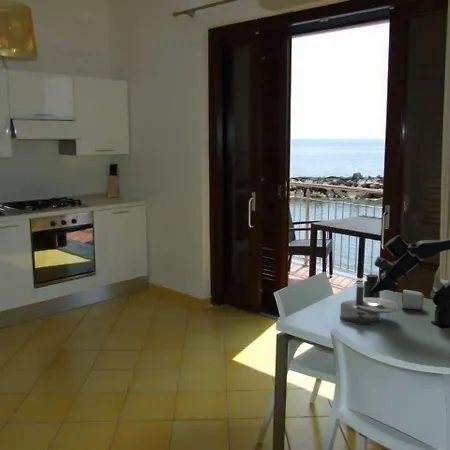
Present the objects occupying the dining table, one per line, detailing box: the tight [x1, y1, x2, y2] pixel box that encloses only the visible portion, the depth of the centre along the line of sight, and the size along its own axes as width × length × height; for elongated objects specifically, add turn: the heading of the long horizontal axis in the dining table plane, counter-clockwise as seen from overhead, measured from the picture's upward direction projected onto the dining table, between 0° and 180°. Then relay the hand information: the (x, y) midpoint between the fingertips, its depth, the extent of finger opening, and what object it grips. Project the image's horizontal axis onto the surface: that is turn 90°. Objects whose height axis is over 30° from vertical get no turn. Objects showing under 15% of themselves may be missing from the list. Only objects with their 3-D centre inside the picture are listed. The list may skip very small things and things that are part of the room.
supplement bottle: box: [363, 273, 381, 298], centre depth 220 cm, size 7×7×12 cm
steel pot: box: [339, 299, 381, 326], centre depth 200 cm, size 15×25×5 cm, turn 167°
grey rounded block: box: [401, 289, 424, 310], centre depth 214 cm, size 11×8×8 cm
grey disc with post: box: [355, 281, 399, 314], centre depth 198 cm, size 16×16×8 cm
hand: (371, 292), depth 198 cm, fingers closed
